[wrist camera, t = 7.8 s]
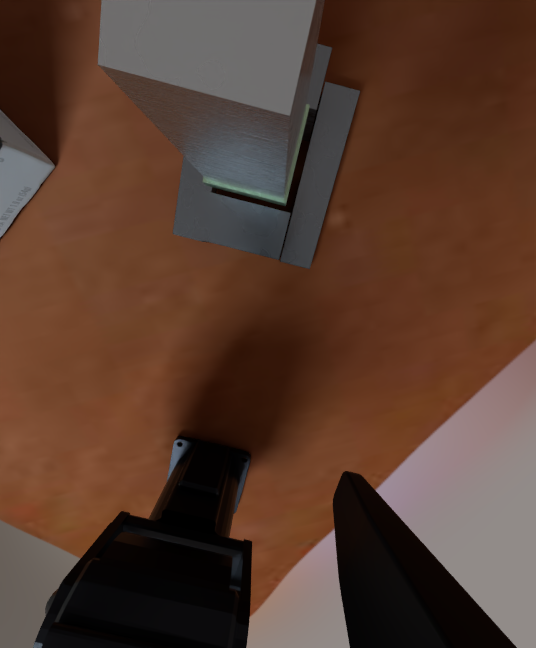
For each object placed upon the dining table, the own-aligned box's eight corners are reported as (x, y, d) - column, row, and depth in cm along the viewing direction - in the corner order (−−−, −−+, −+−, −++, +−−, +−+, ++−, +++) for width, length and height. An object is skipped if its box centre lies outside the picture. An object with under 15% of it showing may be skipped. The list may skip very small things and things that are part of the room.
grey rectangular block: (285, 207, 14) (295, 125, 5) (208, 187, 14) (90, 71, 5) (307, 117, 13) (364, -172, 4) (224, 95, 13) (107, -247, 4)
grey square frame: (308, 268, 18) (316, 271, 14) (178, 235, 18) (149, 228, 14) (355, 101, 15) (381, 46, 11) (204, 61, 15) (177, -10, 11)
